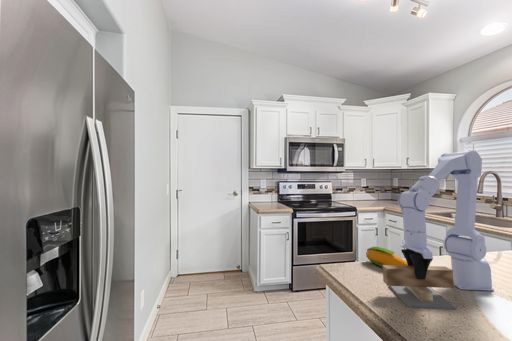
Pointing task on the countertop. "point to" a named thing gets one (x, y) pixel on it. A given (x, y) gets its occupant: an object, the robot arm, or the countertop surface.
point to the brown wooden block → (407, 277)
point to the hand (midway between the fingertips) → (417, 276)
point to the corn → (384, 257)
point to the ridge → (422, 293)
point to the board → (413, 301)
